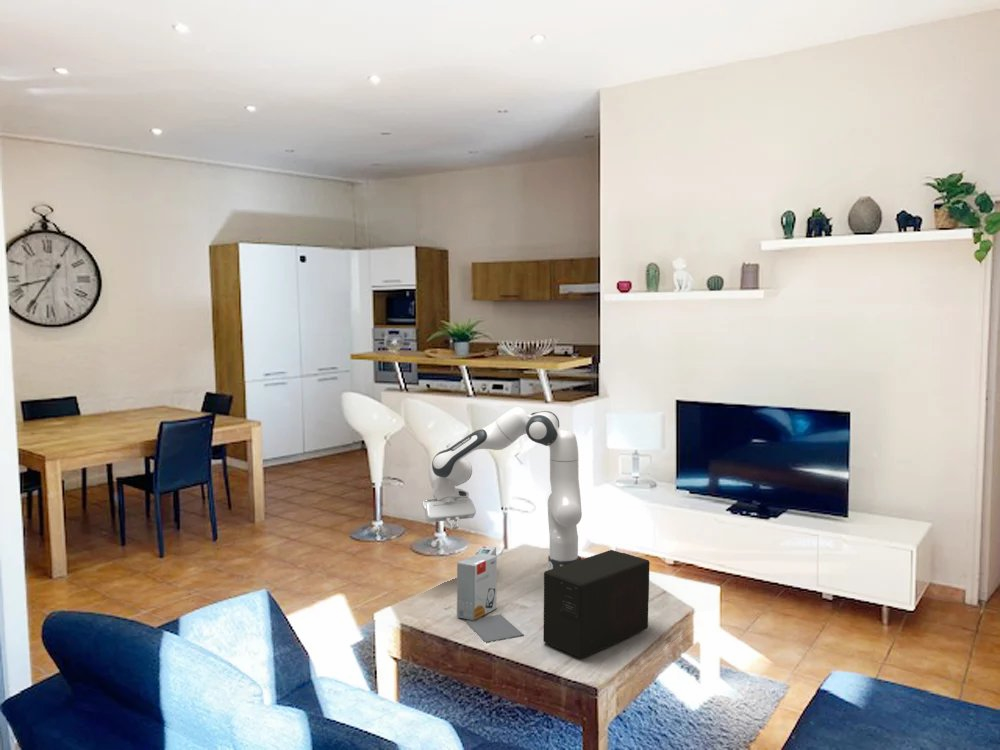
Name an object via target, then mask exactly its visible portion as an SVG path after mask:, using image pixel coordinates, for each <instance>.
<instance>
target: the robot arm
mask: <svg viewBox="0 0 1000 750" xmlns="http://www.w3.org/2000/svg"><path fill="white" fill-rule="evenodd" d="M523 435H527V437H528V439H530V441H532V442H534V443H537V444H540V445H542V446H545V447H549V482H550V490H551V493H550V495H548V499H547V516H548V517H547V519H548V520H547V521H548V531H549V532H548V534H549V555H548V560H547V562H548V563H547V564H548V566H547V567H548V569H547V571H548V570H551V569H554V568H557V567H560V566H563V565H566V564H569V563H572V562H575V561H578V560H582V559H585V558H586V557H581V556H580V555H579V535H578V527H577V525H578V524H579V523H580V522H581V520H582V516H583V515H582V513H583V512H582V511H583V510H582V501H581V489H580V483H579V482H580V478H579V447H578V441H577V436H576V434H575V433H574V432H572V431H570V430H568V429H567V430H566V429H561V428H560V420H559V417H558V416H557V414H555V413H553V412H552V411H548V410H543V411H542V410H541V411H536V412H531V414H529V412H528V411H527V410H526V409H525V408H522V407H520V406H515V407H513V408H511V409H509V410H507V412H505V413H503V414H501V416H499V417H498V418H497V419H496V420H493V422H491V423H490V424H488V425H486V426H484V427H483V428H481V429H478V430H475V431H473V432H471V433H470V434H468V435H467V436H465V437H463V439H461V440H460V441H458V442H456V443H455V444H453V445H451V446H450V447H449V448H446V449H443V450H441V451H439V452H437V454H436V455H435V456H434V457H433V459H432V463H431V464H430V465H429V468H428V476H429V482H430V486H431V488H432V489H433V497H434V498H431V499H425V500H424V501H422V503H421V504H422V505H421V506H422V508H423V511H424V517H425V521H426V522H427V523H436V522H445V524H446V525H448V526H449V528H450V531H453V530H459V521H460V520H465V519H467V520H468V519H473V518H474V517H475V515H476V514H477V511H476V507H475V504H474V503H473V500H472V499H471V498H470V494H469V492H468V491H466V490H459V489H456V487H458V486H460V485H462V484H464V483H466V482H468V481H469V480H470V478H471V476H472V474H473V466H472V465H471V463H470V462H469V461H467V460H465V459H464V458H465V457H467V456H468V455H469V454H471V453H473V452H474V451H477V450H493V451H494V450H495V451H500V450H504V449H506V448H508V447H509V446H510V445H512V444H513V443H514V442H516V440H518V439H519V438H520V437H521V436H523ZM452 521H454V523H452Z"/></svg>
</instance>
